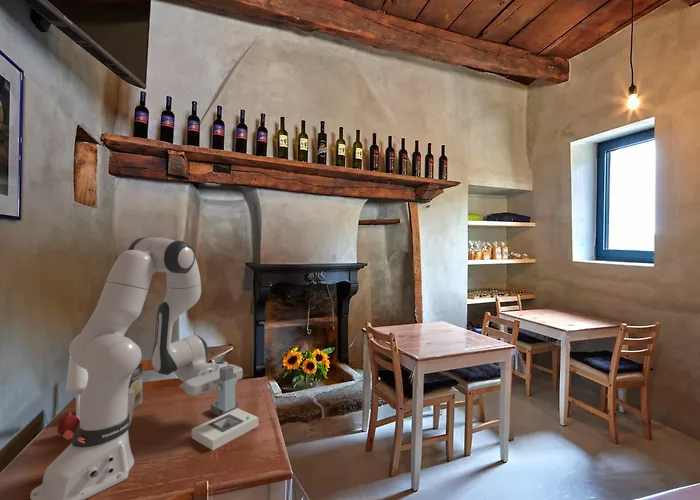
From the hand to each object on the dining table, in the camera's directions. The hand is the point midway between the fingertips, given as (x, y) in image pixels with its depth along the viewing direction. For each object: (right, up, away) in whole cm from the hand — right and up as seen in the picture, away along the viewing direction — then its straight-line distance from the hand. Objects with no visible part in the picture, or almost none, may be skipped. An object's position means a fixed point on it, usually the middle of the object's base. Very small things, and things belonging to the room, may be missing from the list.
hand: (228, 385), depth 116 cm
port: (-1, -16, +1) cm, 16 cm away
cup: (-39, -16, +3) cm, 43 cm away
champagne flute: (-57, -16, +7) cm, 60 cm away
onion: (-52, -16, -3) cm, 55 cm away
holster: (-7, -16, +16) cm, 23 cm away
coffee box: (-46, -16, +17) cm, 52 cm away
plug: (-1, -8, +1) cm, 8 cm away
